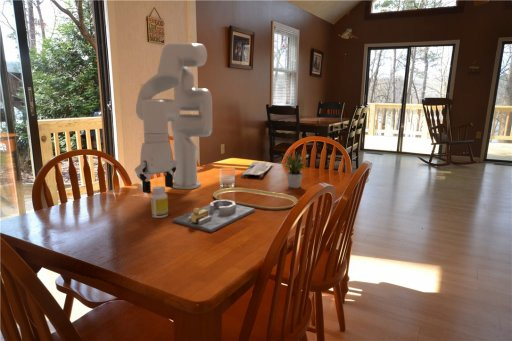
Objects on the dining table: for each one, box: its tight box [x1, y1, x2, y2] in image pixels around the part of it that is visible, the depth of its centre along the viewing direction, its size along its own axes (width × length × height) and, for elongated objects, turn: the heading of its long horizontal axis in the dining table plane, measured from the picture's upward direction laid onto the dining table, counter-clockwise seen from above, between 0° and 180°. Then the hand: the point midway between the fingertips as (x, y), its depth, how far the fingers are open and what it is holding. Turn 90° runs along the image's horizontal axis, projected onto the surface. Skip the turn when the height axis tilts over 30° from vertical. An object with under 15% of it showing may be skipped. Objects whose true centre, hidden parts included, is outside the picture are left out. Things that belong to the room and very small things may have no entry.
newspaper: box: [240, 161, 273, 179], centre depth 193 cm, size 35×12×4 cm, turn 171°
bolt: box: [191, 207, 208, 223], centre depth 115 cm, size 2×6×4 cm, turn 147°
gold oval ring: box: [212, 187, 298, 211], centre depth 142 cm, size 19×35×2 cm, turn 63°
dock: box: [172, 199, 256, 233], centre depth 122 cm, size 16×24×4 cm, turn 147°
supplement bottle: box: [150, 185, 169, 219], centre depth 122 cm, size 5×5×10 cm
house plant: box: [280, 150, 309, 189], centre depth 160 cm, size 14×14×16 cm
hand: (158, 189), depth 120 cm, fingers open, 9 cm apart
